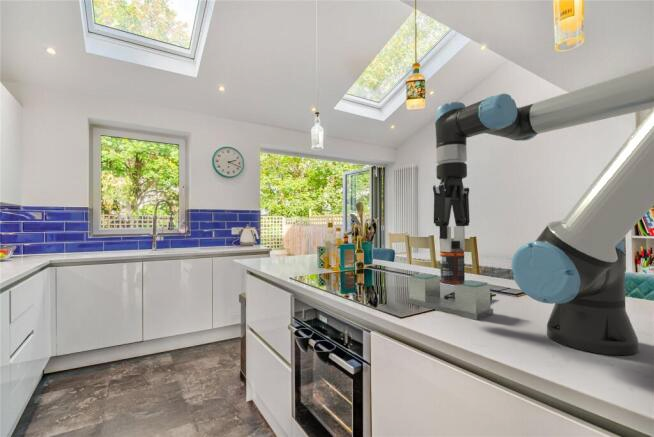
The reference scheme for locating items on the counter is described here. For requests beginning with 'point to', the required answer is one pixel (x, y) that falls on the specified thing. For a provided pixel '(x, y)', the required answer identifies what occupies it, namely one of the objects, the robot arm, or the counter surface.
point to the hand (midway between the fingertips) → (452, 250)
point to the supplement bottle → (452, 265)
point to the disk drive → (452, 296)
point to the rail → (468, 300)
